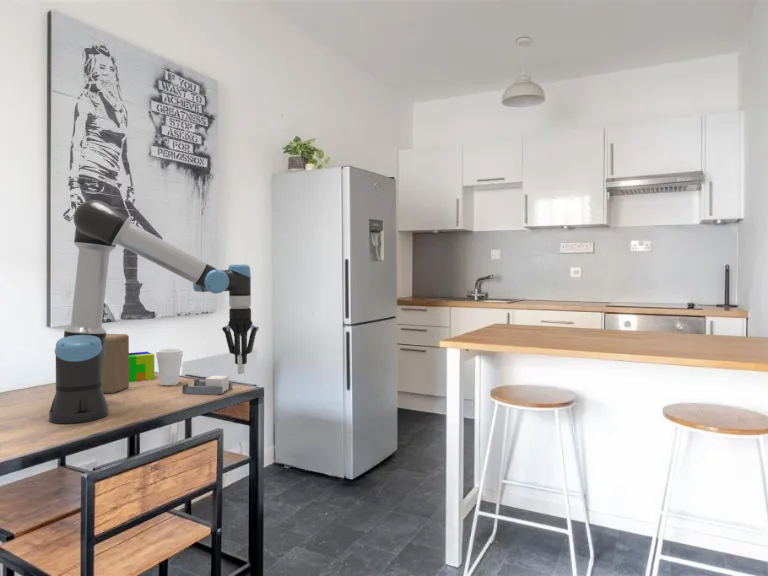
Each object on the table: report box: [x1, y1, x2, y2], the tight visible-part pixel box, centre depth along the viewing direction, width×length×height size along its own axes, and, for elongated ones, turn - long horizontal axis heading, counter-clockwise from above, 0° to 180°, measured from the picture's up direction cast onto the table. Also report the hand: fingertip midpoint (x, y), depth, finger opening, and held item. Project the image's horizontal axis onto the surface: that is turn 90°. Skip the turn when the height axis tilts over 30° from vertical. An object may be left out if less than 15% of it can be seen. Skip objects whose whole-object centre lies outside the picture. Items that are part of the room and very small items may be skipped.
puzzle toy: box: [129, 351, 155, 383], centre depth 208 cm, size 10×10×10 cm
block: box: [205, 375, 230, 393], centre depth 187 cm, size 6×6×5 cm
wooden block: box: [101, 333, 130, 394], centre depth 187 cm, size 10×10×20 cm
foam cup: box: [155, 348, 184, 386], centre depth 198 cm, size 10×9×13 cm
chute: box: [181, 378, 233, 395], centre depth 188 cm, size 10×14×3 cm
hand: (241, 373), depth 186 cm, fingers closed
